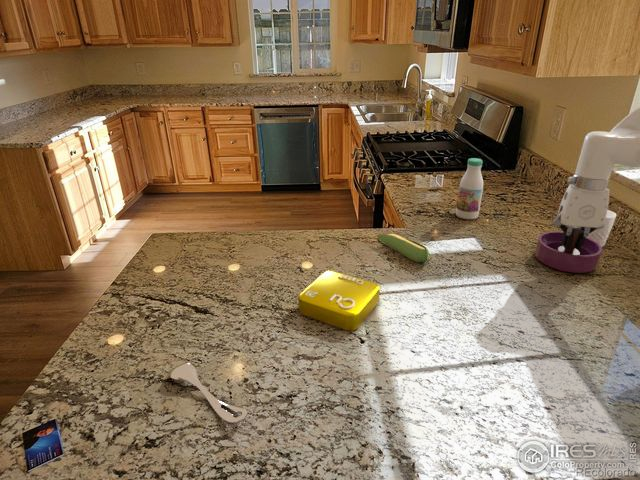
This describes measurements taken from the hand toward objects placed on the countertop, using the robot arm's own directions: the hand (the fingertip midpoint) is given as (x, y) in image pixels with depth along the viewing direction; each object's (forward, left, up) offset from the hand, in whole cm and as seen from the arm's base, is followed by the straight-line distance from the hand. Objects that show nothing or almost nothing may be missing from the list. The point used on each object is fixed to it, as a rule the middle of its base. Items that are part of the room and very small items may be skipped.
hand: (571, 246), depth 115 cm
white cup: (-12, -15, -6) cm, 20 cm away
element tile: (+60, +29, -6) cm, 67 cm away
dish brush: (0, -1, -4) cm, 5 cm away
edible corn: (+45, -1, -6) cm, 45 cm away
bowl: (0, -2, -5) cm, 6 cm away
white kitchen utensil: (+80, +60, -6) cm, 100 cm away
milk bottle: (+22, -32, -6) cm, 39 cm away
